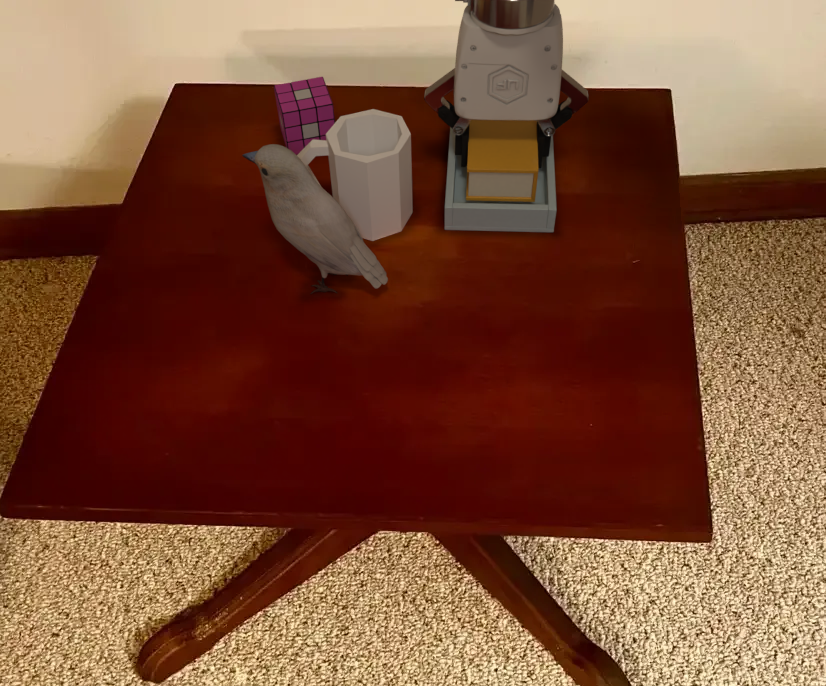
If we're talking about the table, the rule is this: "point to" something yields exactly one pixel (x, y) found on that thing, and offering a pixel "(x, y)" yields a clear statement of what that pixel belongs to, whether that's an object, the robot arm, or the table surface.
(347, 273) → the bird
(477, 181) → the book
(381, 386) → the table surface
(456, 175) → the tray
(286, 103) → the puzzle toy
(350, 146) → the mug
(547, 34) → the robot arm
